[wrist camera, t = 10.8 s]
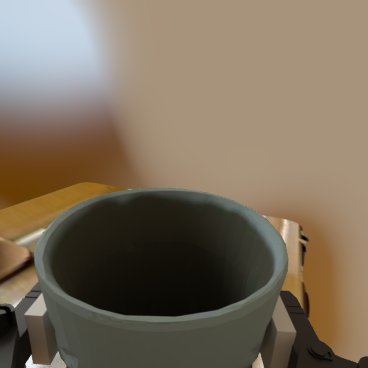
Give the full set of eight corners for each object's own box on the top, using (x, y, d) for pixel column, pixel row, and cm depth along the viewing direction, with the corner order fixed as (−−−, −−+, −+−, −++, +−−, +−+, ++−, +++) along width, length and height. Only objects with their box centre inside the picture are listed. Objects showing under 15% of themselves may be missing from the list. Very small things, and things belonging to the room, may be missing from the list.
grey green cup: (160, 312, 21) (163, 177, 18) (279, 399, 15) (319, 222, 12) (31, 421, 14) (-10, 224, 10) (165, 679, 8) (182, 419, 4)
